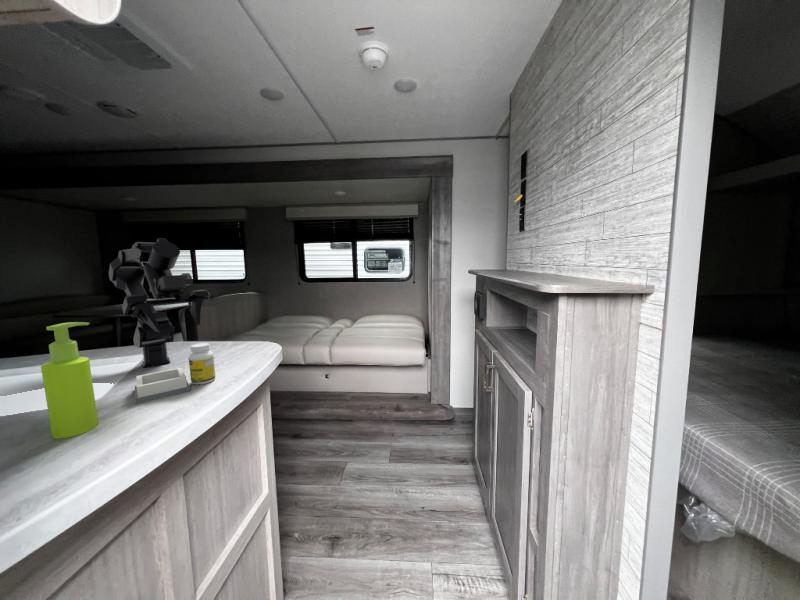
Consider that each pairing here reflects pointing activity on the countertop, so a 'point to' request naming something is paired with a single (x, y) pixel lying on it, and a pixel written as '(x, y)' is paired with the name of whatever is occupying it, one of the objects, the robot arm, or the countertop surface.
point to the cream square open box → (160, 384)
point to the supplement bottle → (201, 364)
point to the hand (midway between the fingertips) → (179, 328)
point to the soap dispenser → (68, 386)
